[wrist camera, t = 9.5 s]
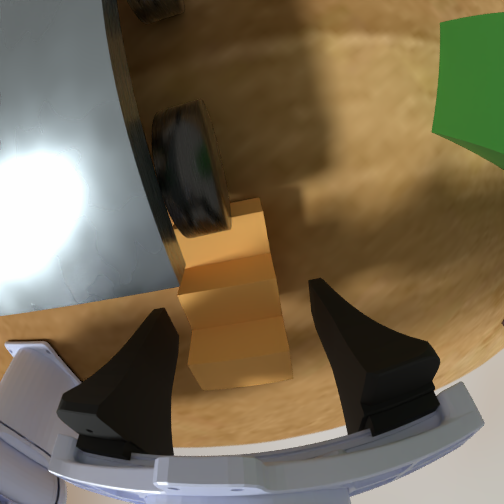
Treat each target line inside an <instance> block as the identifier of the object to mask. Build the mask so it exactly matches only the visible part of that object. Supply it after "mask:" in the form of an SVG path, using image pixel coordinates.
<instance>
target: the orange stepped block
mask: <svg viewBox="0 0 504 504" xmlns="http://www.w3.org/2000/svg"><path fill="white" fill-rule="evenodd" d="M230 208H231V218H232V227H231V229H230V230H227V231H222V232H217V233H213V234H208V235H204V236H199V237H195V238H186V237H185V236H183V235H182V233H181V232H180V231H179V230H178V228H177V227H176V225H175V224H174V225H173V230H174V233H175V235H176V238H177V241H178V244H179V247H180V249H181V252H182V255H183V258H184V260H185V263H186V267H185V270H184V274H183V277H182V281H181V285H180V287H179V290H178V294H177V296H178V298H179V301H180V303H181V306H182V308H183V310H184V312H185V315H186V317H187V319H188V322H189V324H190V326H191V328H192V336H191V343H190V350H189V357H188V364H187V365H188V367H189V369H190V370H191V372H192V374H193V375H194V377H195V379H196V380H197V382H198V384H199V385H200V387H201V389H202V390H203V391H209V390H220V389H229V388H238V387H246V386H253V385H260V384H267V383H273V382H279V381H284V380H290V379H294V378H293V371H292V364H291V357H290V350H289V345H288V340H287V335H286V331H285V326H284V321H283V316H282V310H281V304H280V298H279V292H278V286H277V280H276V275H275V270H274V266H273V262H272V258H271V253H270V248H269V242H268V236H267V231H266V225H265V220H264V214H263V209H262V206H261V202H260V198H253V199H248V200H243V201H238V202H233V203H230Z"/></svg>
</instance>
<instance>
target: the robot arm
mask: <svg viewBox="0 0 504 504" xmlns="http://www.w3.org/2000/svg"><path fill="white" fill-rule="evenodd" d="M308 282H309V292H310V302H311V312H312V316H313V320H314V323H315V327H316V330H317V332H318V335H319V337H320V340H321V342H322V345H323V347H324V350H325V352H326V354H327V357H328V359H329V362H330V364H331V367H332V370H333V373H334V377H335V381H336V384H337V388H338V392H339V396H340V400H341V405H342V409H343V413H344V418H345V423H346V428H347V432H348V435H346V436H343V437H339V438H335V439H331V440H328V441H323V442H319V443H314V444H310V445H305V446H300V447H294V448H289V449H282V450H276V451H269V452H261V453H252V454H242V455H222V456H174V453H173V444H172V432H171V395H172V387H173V381H174V375H175V369H176V363H177V358H178V348H179V335H178V333H177V331H176V329H175V327H174V325H173V323H172V322H171V320H170V318H169V316H168V314H167V312H166V310H165V308H159V309H154V310H153V311H152V312H151V313H150V315H149V316H148V317H147V318H146V319H145V321H144V322H143V323H142V325H141V326H140V327H139V328H138V330H137V331H136V332H135V333H134V335H133V336H132V337H131V338H130V339H129V340H128V342H127V343H126V344H125V345H124V346H123V347H122V349H121V350H120V351H119V352H118V353H117V354H116V355H115V356H114V357H113V358H112V359H111V360H110V361H109V362H108V363H107V364H106V365H104V366H103V367H102V368H101V369H100V370H98V371H97V372H96V373H95V374H93V375H92V376H91V377H89V378H88V379H87V380H85V381H84V382H81V381H80V380H79V379H78V378H77V377H76V376H75V375H74V373H73V372H72V371H71V370H70V369H69V368H68V367H67V365H66V364H65V363H64V362H63V361H62V360H61V358H60V357H59V356H58V355H57V353H56V352H55V351H54V350H53V348H52V347H51V346H50V345H49V343H47V342H45V341H30V342H6V343H5V347H6V348H7V350H8V351H9V352H10V353H11V355H12V356H13V357H14V358H13V360H12V361H11V363H10V365H9V367H8V369H7V370H6V372H5V374H4V376H3V378H2V380H1V382H0V494H1V495H0V504H66V500H67V487H66V482H65V481H67V482H69V483H71V484H73V485H75V486H77V487H80V488H82V489H86V490H88V491H91V492H95V493H98V494H101V495H104V496H107V497H111V498H115V499H118V500H122V501H126V502H130V503H135V504H351V502H350V497H351V496H354V495H357V494H360V493H363V492H366V491H369V490H371V489H374V488H377V487H379V486H382V485H385V484H387V483H389V482H392V481H394V480H397V479H399V478H401V477H403V476H406V475H408V474H410V473H412V472H414V471H416V470H418V469H420V468H422V467H424V466H426V465H428V464H430V463H432V462H434V461H435V460H437V459H439V458H441V457H443V456H445V455H446V454H448V453H450V452H452V451H453V450H455V449H457V448H458V447H460V446H461V445H463V444H464V443H465V442H466V441H467V440H468V439H470V438H471V437H472V436H473V435H474V434H475V433H476V432H477V431H478V430H479V429H480V428H481V427H482V426H484V421H483V419H482V417H481V415H480V413H479V411H478V409H477V407H476V405H475V403H474V401H473V399H472V398H471V396H470V394H469V392H468V390H467V389H466V387H465V385H464V383H463V382H459V383H457V384H455V385H453V386H451V387H450V388H448V389H446V390H444V391H442V392H441V393H439V394H438V395H437V396H436V395H435V393H434V390H435V386H434V384H433V382H432V380H433V378H434V376H435V374H436V372H437V370H438V368H439V365H440V358H439V357H438V355H437V354H436V352H435V350H434V349H433V348H432V346H431V345H430V344H429V343H428V342H427V341H424V340H420V339H417V338H413V337H410V336H407V335H404V334H401V333H399V332H396V331H394V330H392V329H390V328H387V327H385V326H383V325H381V324H379V323H377V322H376V321H374V320H372V319H371V318H369V317H367V316H366V315H364V314H363V313H361V312H360V311H359V310H357V309H356V308H355V307H353V306H352V305H351V304H349V303H348V302H347V301H346V300H345V299H343V298H342V297H341V296H340V295H339V294H338V293H337V292H335V291H334V290H333V289H332V288H331V287H330V286H329V285H328V284H327V283H326V282H325V281H324V280H323V279H322V278H317V279H312V280H308ZM7 498H8V499H7Z"/></svg>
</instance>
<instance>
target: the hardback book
mask: <svg viewBox="0 0 504 504" xmlns="http://www.w3.org/2000/svg"><path fill="white" fill-rule="evenodd" d="M432 133H435V134H437V135H439V136H441V137H444V138H446V139H448V140H450V141H452V142H454V143H456V144H458V145H460V146H462V147H464V148H466V149H468V150H470V151H472V152H474V153H476V154H477V155H479V156H481V157H483V158H485V159H486V160H488V161H490V162H492V163H493V164H495V165H497V166H498V167H500V168H501V169H503V170H504V12H501V13H491V14H483V15H477V16H470V17H465V18H460V19H455V20H450V21H445V22H441V23H440V64H439V78H438V89H437V98H436V106H435V114H434V120H433V127H432Z"/></svg>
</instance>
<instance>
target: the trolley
mask: <svg viewBox="0 0 504 504" xmlns="http://www.w3.org/2000/svg"><path fill="white" fill-rule="evenodd" d="M127 2H128V4H129V5H130V7H131V9H132V10H133V12H134V13H135V15H136V16H137V17H138V18H139V19H140V20H141V21H142V22H143V23H145V24H150V23H152V22H155V21H158V20H161V19H164V18H167V17H170V16H174V15H177V14H180V13H184V11H185V5H184V0H127ZM152 152H153V159H154V165H155V171H156V174H155V171H154V167H153V164H152V160H151V157H150V154H149V150H148V146H147V143H146V139H145V135H144V132H143V128H142V124H141V120H140V116H139V112H138V108H137V104H136V100H135V96H134V92H133V87H132V83H131V78H130V74H129V69H128V64H127V59H126V54H125V49H124V44H123V38H122V32H121V26H120V20H119V13H118V6H117V0H0V316H4V315H11V314H18V313H25V312H31V311H38V310H45V309H51V308H58V307H64V306H70V305H76V304H82V303H89V302H95V301H101V300H106V299H112V298H118V297H124V296H130V295H135V294H141V293H146V292H152V291H158V290H163V289H168V288H174V287H179V286H180V285H181V281H182V277H183V274H184V270H185V267H186V263H185V260H184V258H183V255H182V252H181V249H180V247H179V244H178V241H177V238H176V235H175V233H174V230H173V227H172V224H171V221H170V218H169V215H168V212H169V214H170V216H171V218H172V220H173V222H174V224H175V225H176V227H177V228H178V230H179V231H180V232H181V233H182V235H183V236H185V237H186V238H195V237H199V236H204V235H208V234H213V233H217V232H222V231H227V230H230V229H231V227H232V218H231V208H230V201H229V195H228V189H227V184H226V178H225V173H224V169H223V164H222V160H221V156H220V151H219V147H218V144H217V140H216V136H215V132H214V129H213V126H212V122H211V119H210V116H209V114H208V111H207V108H206V106H205V104H204V102H203V101H202V100H201V99H198V100H195V101H191V102H187V103H184V104H180V105H177V106H174V107H171V108H167V109H164V110H161V111H159V112H157V113H156V115H155V117H154V120H153V125H152ZM156 175H157V177H156ZM157 179H158V181H157ZM158 183H159V184H158ZM162 196H163V197H162ZM163 199H164V200H163ZM164 202H165V203H164ZM165 204H166V206H165ZM166 207H167V209H168V212H167V209H166Z"/></svg>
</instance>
